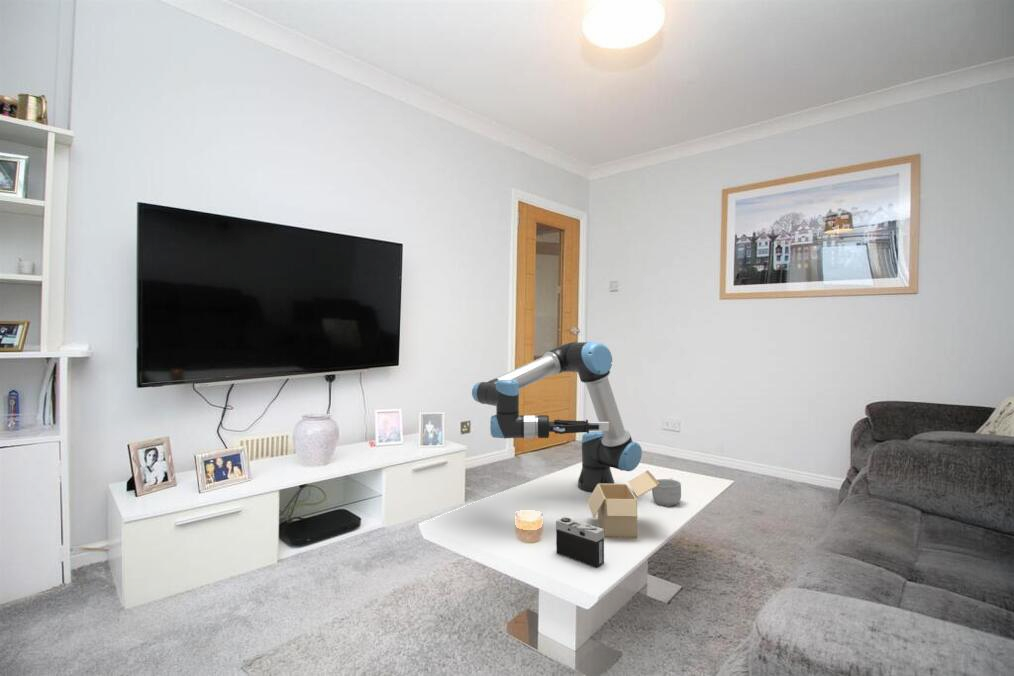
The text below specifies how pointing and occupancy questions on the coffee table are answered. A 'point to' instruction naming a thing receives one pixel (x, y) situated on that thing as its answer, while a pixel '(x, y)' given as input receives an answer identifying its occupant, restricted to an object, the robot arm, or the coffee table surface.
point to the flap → (643, 483)
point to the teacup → (667, 492)
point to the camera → (580, 541)
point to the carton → (615, 510)
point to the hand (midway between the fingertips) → (608, 426)
